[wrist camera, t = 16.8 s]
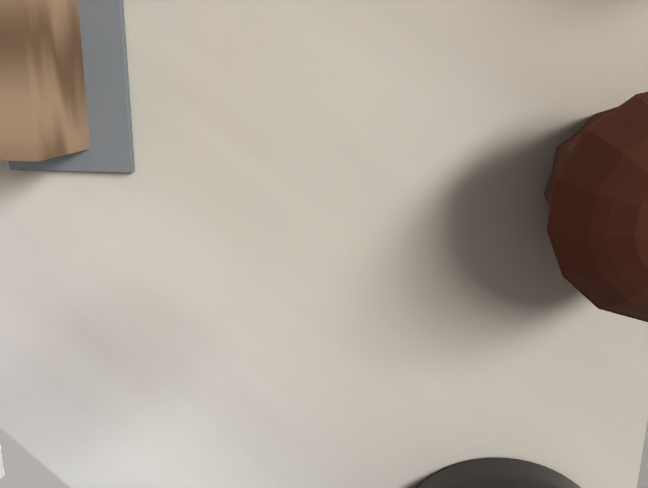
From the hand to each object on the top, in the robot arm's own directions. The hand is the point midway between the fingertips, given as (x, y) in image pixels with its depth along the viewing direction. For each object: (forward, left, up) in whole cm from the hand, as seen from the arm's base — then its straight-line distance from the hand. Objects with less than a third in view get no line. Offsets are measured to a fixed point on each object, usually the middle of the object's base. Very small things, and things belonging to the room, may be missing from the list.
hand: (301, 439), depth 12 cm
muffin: (+1, -15, -27) cm, 31 cm away
